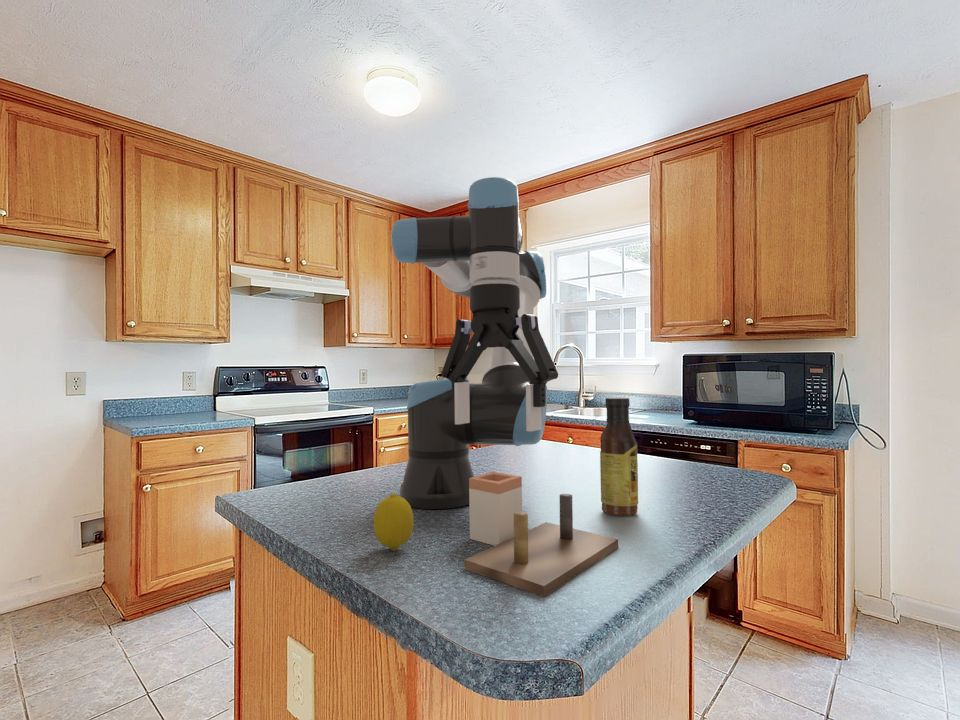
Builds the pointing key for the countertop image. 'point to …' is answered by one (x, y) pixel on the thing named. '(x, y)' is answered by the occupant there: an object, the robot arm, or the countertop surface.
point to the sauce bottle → (618, 461)
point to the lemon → (393, 521)
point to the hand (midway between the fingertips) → (496, 426)
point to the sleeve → (494, 506)
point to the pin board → (542, 553)
